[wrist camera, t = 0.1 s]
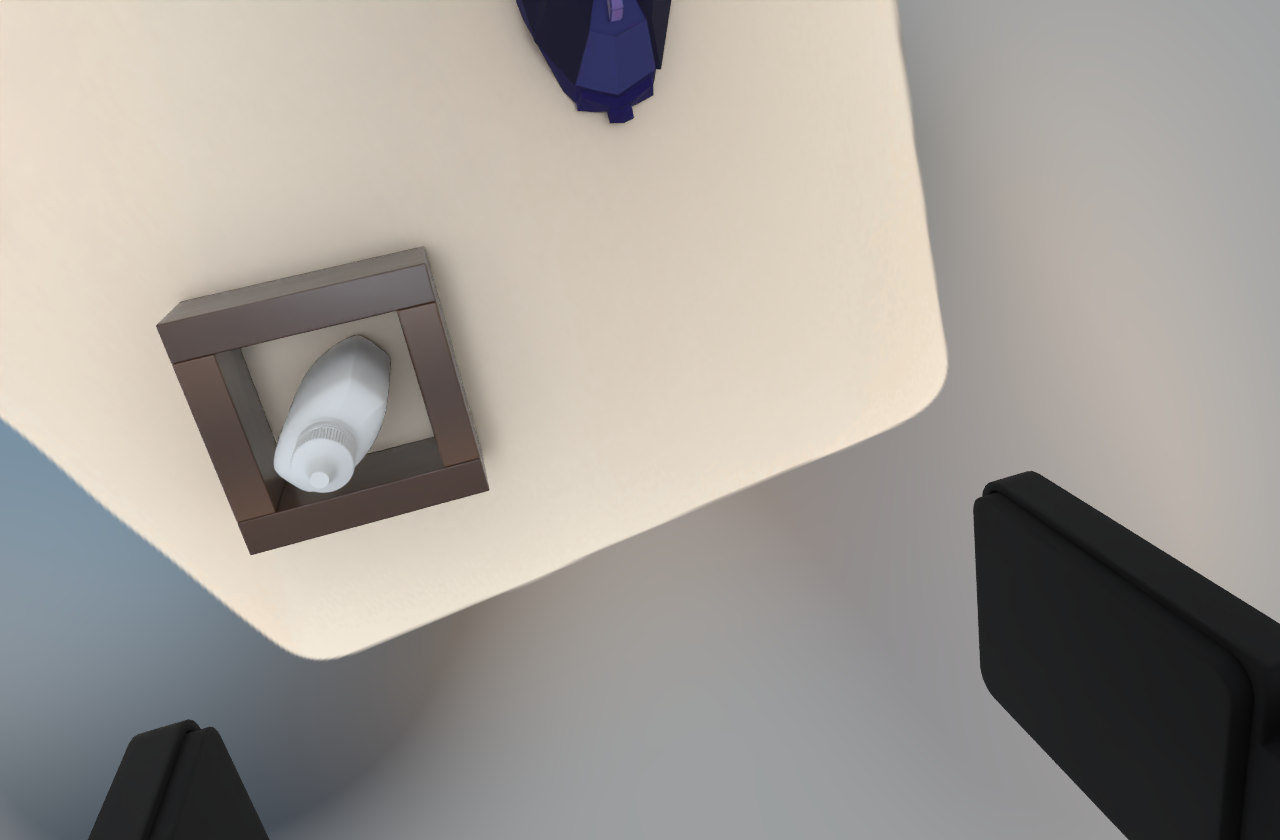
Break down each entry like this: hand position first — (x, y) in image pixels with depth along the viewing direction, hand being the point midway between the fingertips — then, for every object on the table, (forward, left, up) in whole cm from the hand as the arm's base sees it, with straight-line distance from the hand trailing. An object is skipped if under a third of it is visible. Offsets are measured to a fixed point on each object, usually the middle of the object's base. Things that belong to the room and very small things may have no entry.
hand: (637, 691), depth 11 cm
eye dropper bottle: (+6, -8, -37) cm, 38 cm away
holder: (+6, -8, -37) cm, 38 cm away
